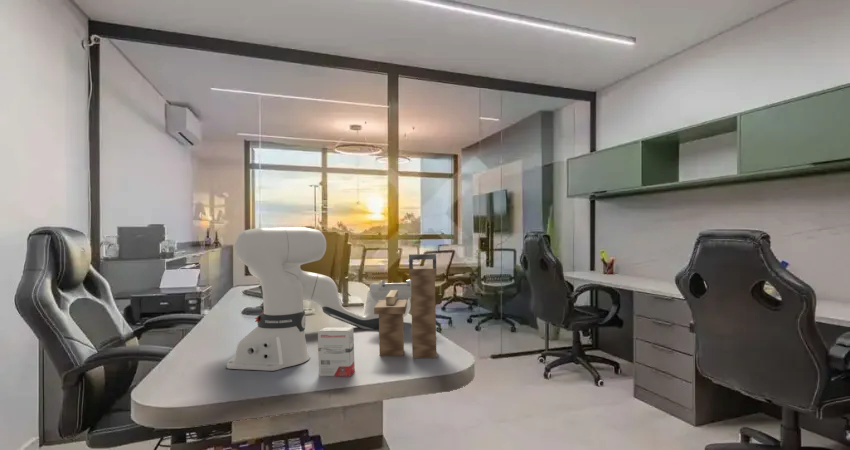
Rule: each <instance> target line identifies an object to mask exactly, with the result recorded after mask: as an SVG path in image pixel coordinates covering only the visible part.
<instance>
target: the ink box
mask: <svg viewBox="0 0 850 450" xmlns="http://www.w3.org/2000/svg"><path fill="white" fill-rule="evenodd" d="M354 334H355V333H354V326H353V327H349V326H348V327H323V328H321V329H320V330H318V331H317V351H318V352H317V355H318V357H317V358H318V376H319V377H351V376H352V375H353V373H354V372H355V371H356V369H355V342H354V341H355V338H354V336H355V335H354Z"/></svg>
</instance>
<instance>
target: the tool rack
mask: <svg viewBox="0 0 850 450" xmlns="http://www.w3.org/2000/svg"><path fill="white" fill-rule="evenodd" d="M414 260H415V261H417V260H418V261H420V260H422V261H424V260H432V265H430V266H429V265H418V266H414ZM408 268H409V269H408V276H409V277H410V280H411V298H410V302H411V336H412V337H411V343H412V345H411V348H412V353H411V354H412V359H435V358H437V325H436V324H437V317H436V315H437V313H436V309H437V308H436V276H437V275H438V274H437V273H438V272H437V254H436V253H415V254H414V253H411V254H410V253H409V254H408ZM406 308H407V300H396V302H395V304H394V305H386V300H379V301H378V303H377V304H376V305H375V307H374V314H379V329H378V333H379V334H378V337H379V338H378V339H379V341H378V345H379V350H378V351H379V356H380V357H384V356H390V357H391V356H404V353H405V339H404V338H405V336H404V335H405V333H404V332H405V329H404V328H405V326H404V325H405V324H404V317H403V314H405V311H406Z"/></svg>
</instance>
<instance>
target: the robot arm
mask: <svg viewBox="0 0 850 450" xmlns="http://www.w3.org/2000/svg"><path fill="white" fill-rule="evenodd" d="M234 251H235V255H236V257H237V258H238V260H239V261H240V262H241V263H242V264H243V265H245V266H246V267H247V269H248V272H249V274H250V275H251V276H253V278H256V279H258V280H259V282H260V285H258V289H259V290H260V296H261V297H262V298H261V299H262V300H263V303H262V304H263V312H261V313H260V314H259V315H257V316H256V317H255V318H254V319H255V321H254V323H257V326H256V327H255V328H253V330H251V331H250V332H249V333H248V334H246V335H245V336H244V337H243V338H242V339H240V341H238V344H237V346H236V350H235V356H233V357H232V358H230V359H229V360H227V361H226V368H227V369H229V370H230V369H233V370H253V371H272V372H273V371H279V370H281V369H284V368H288V367H293V366H297V365H301V364H303V363H305V362H307V361H309V360H310V358H311V357H310V354H309V350H308V345H307V341H306V333H305V331H306V325H307V324H306V321H307V320H306V312H305V309H304V301H307V302H311V303H314V304H316V305H318V306H319V307H320V308H321V309H322V312H323V313H324V314H326V315H327V316H329V317H331V318H333V319H335V320H338V321H340V322H343V323H346V324H347V325H351V326H353V327H355V328H357V329H362V330H363V329H364V330H379V314H374V307H375V305H376V304H377V303H378V301H379V300H386V296H387V295H388V293H389V292H390V291H391V290H398V298H397V300H407V308H406V311H405V314H403V318H406V316H407V315H408V314H409V313H410V310H411V308H412V302H411V279H407V280H406V282H391V283H390V282H388V283H387V282H386V281H385V280H380V282H378V283H371V284H369V291H368V292H367V295H366V300H365V308H364V312H363V315H360V314H359V313H355V312H353V311H351V310H348V309H346V308H344V306H343V305H342V303H341V301H340V297H339V291H338V286H337V284H336V282H335V281H334V280H333V278H331V277H330V276H327V275H324V274H321V273H317V272H311V271H305V270H303V269H301V266H303V265H305V264H309V263H313V262H317V261H320V260H321V259H322V258H323V257H324V255H325V253H326V251H327V240H326V236H325V235H324V234H323V231H321V230H319V229H317V228H316V229H315V228H311V227H305V226H303V227H302V226H298V227H294V226H293V227H292V226H291V227H289V226H288V227H287V226H285V227H284V226H283V227H276V226H275V227H274V226H273V227H255V228H251V229H245V230H243V231H241V233H240V234H239V235H238V236H237V238H236V241H235V245H234Z"/></svg>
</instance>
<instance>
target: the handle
mask: <svg viewBox="0 0 850 450" xmlns="http://www.w3.org/2000/svg"><path fill="white" fill-rule="evenodd" d="M397 298H398V290H391V291H390V292H389V293H388V295H387V296H386V305H394V304H395V302H396V300H397Z"/></svg>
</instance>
